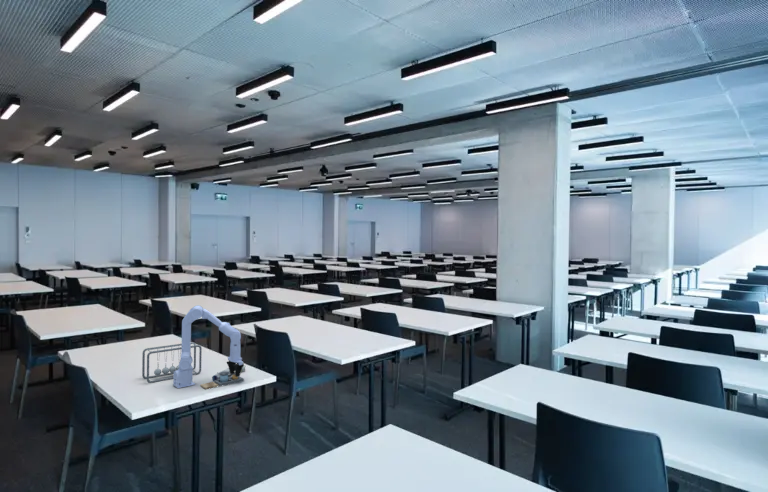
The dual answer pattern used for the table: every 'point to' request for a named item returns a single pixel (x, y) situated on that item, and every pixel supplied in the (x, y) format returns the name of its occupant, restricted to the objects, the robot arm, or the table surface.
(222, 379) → the cylinder
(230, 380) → the housing
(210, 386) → the pad
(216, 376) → the pale blue tube
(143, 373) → the newton's cradle
